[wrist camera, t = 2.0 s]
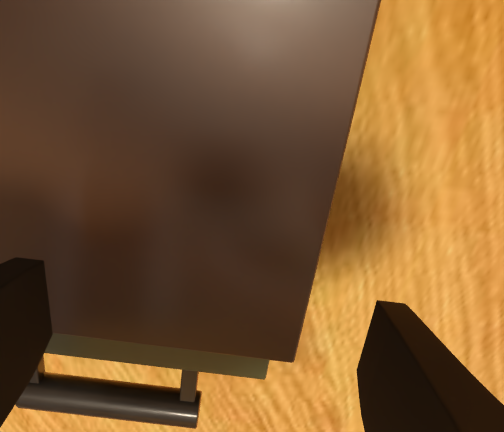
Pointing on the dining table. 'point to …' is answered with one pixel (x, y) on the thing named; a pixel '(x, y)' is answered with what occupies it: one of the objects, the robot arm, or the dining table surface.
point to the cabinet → (177, 161)
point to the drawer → (126, 393)
